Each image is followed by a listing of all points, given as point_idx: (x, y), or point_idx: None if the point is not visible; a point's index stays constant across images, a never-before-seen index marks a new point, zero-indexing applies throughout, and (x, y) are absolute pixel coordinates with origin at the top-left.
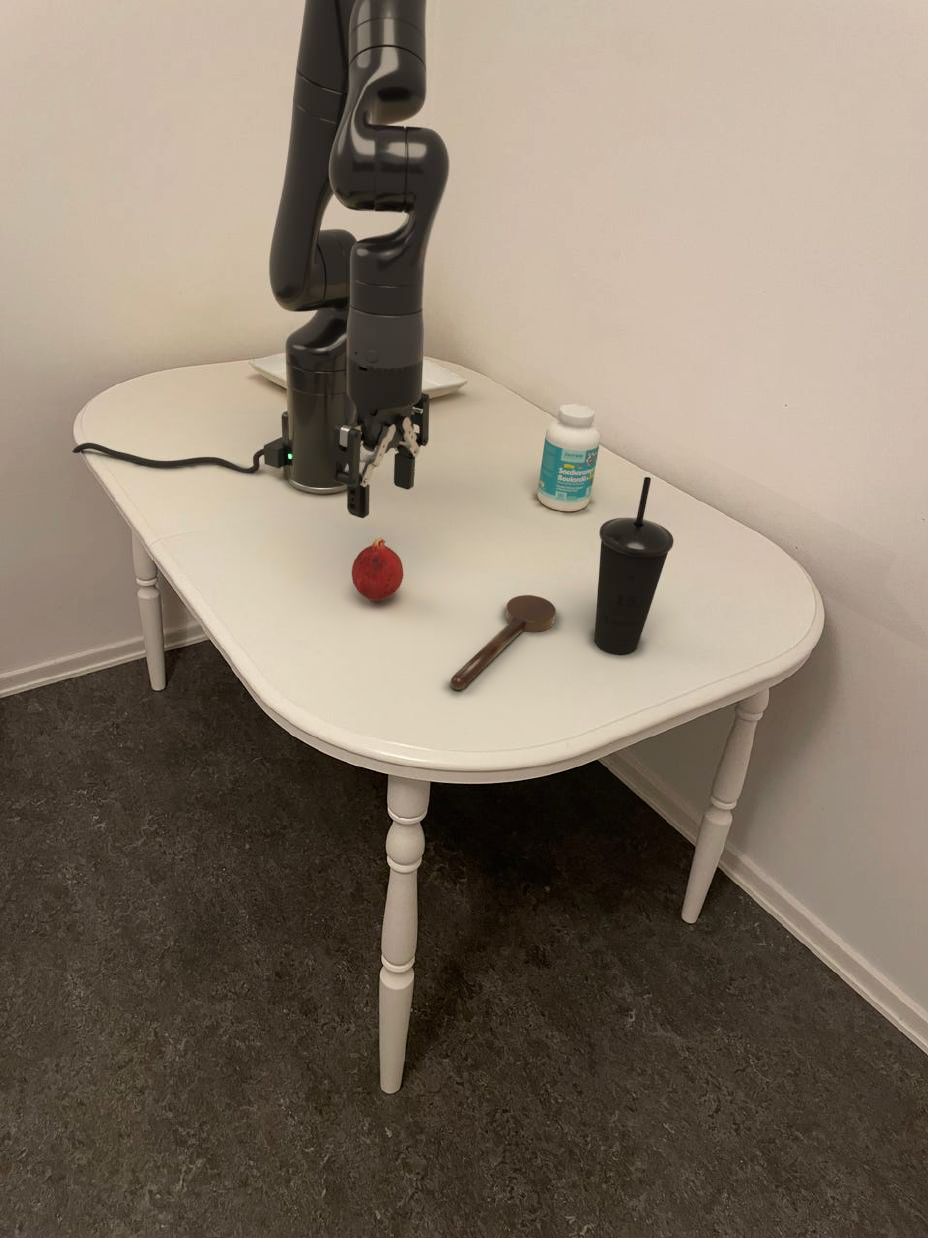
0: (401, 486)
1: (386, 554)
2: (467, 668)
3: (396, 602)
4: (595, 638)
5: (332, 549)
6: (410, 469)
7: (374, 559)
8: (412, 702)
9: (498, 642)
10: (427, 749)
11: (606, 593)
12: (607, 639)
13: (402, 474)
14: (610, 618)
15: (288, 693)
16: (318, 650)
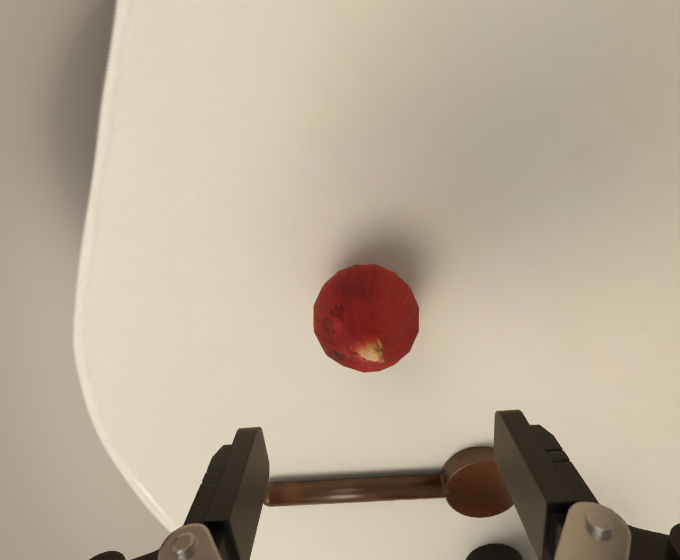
0: (495, 434)
1: (364, 367)
2: (289, 503)
3: None
4: (477, 556)
5: (465, 90)
6: (522, 522)
7: (337, 353)
8: None
9: (370, 501)
10: (164, 514)
11: None
12: None
13: (512, 470)
14: None
15: (92, 351)
16: (190, 315)
